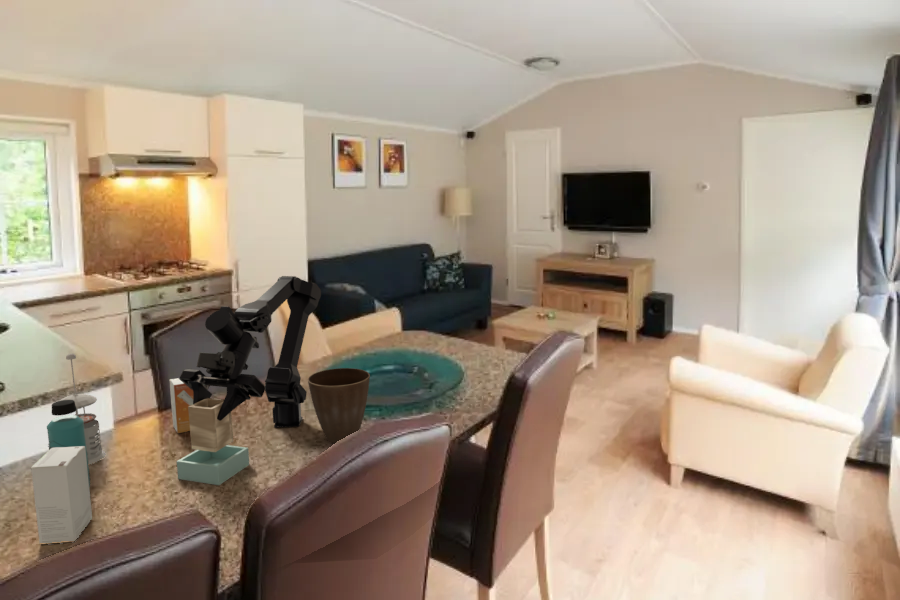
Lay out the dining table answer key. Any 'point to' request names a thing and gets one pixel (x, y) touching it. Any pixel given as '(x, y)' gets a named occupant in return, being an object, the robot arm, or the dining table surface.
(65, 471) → the skincare box
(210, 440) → the birch crate
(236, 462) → the teal crate
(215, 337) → the robot arm
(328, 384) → the plant pot
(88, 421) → the french press
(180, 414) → the small box
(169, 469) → the dining table surface
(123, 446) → the dining table surface
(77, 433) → the beverage bottle
